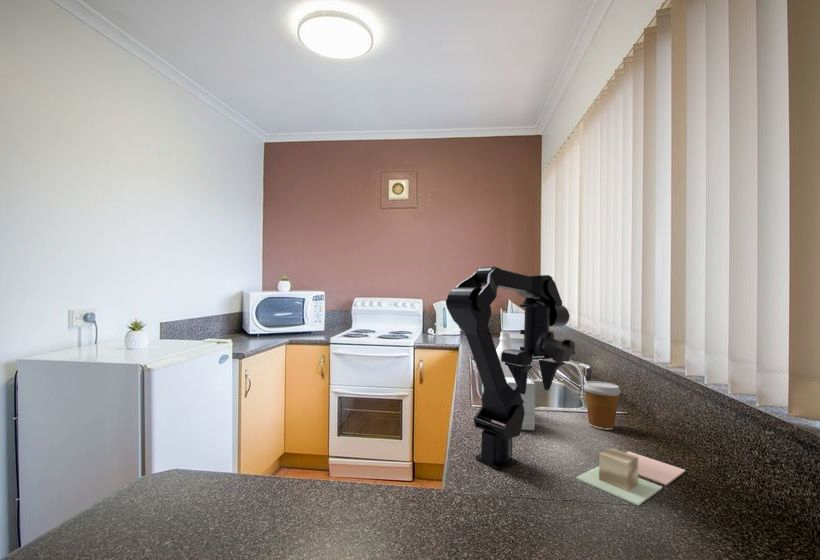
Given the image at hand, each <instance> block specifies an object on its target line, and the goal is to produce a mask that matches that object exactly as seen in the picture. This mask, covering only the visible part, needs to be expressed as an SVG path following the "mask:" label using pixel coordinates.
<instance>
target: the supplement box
mask: <svg viewBox="0 0 820 560" xmlns="http://www.w3.org/2000/svg"><path fill="white" fill-rule="evenodd" d="M505 379H506V382H507V384H509V385H513V386H517V384H516V382H515V380H514V378H511V377H505ZM521 397H522V399H523V401H524V403H522V404H523V406H524V412H525V414H524V419H523V424H522V428H521V431H522V430H525V431H535V427H536V426H535V422H536V421H535V419H536V417H535V415H536V410H535V409H536V383H535V382H534V381H532V380H531V379H530V378H528V377H527V384H526V392H525V394H521Z"/></svg>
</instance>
